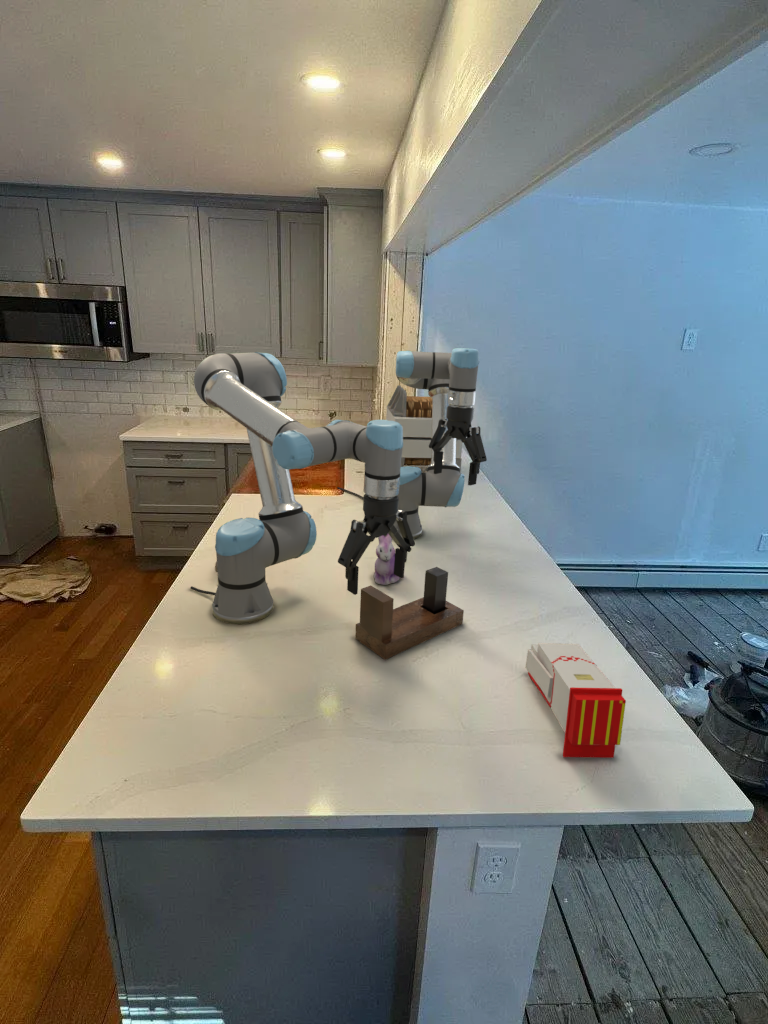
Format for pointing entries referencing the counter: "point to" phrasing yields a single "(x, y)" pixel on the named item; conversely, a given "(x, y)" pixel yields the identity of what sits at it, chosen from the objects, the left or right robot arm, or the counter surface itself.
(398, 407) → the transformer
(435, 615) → the peg board
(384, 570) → the figurine
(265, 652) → the counter surface
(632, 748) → the counter surface
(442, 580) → the peg
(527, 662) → the toy
